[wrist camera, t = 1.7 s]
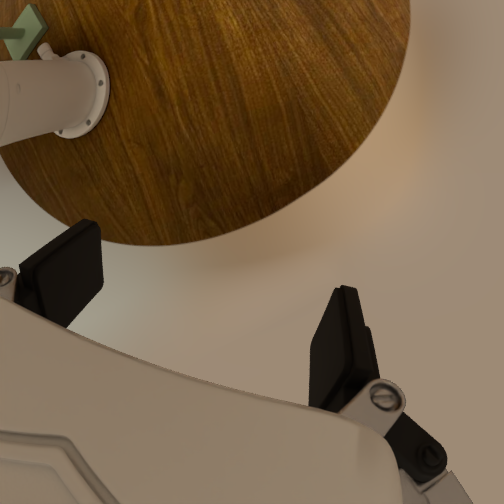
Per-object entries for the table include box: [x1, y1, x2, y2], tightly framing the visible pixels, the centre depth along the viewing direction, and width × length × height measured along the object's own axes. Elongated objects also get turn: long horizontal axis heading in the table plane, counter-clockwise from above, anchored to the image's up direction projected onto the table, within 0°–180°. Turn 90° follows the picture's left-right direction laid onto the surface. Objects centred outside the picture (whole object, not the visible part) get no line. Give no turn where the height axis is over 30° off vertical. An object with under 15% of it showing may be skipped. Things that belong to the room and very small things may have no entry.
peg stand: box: [0, 4, 48, 61], centre depth 22 cm, size 8×8×12 cm
